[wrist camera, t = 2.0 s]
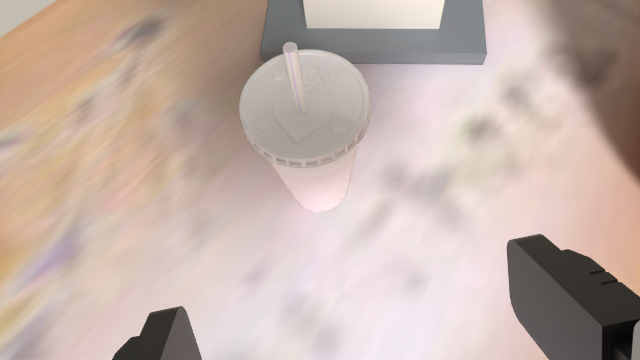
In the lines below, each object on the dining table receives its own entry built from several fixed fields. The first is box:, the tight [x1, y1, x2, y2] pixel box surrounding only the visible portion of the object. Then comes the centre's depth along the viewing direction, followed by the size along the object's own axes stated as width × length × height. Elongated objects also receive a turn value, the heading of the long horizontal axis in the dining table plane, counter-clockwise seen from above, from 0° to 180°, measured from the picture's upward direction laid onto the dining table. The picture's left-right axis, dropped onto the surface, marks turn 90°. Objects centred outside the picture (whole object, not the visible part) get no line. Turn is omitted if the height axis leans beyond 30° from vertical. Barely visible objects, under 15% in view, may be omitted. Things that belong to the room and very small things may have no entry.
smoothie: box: [239, 42, 371, 212], centre depth 26 cm, size 6×6×14 cm
